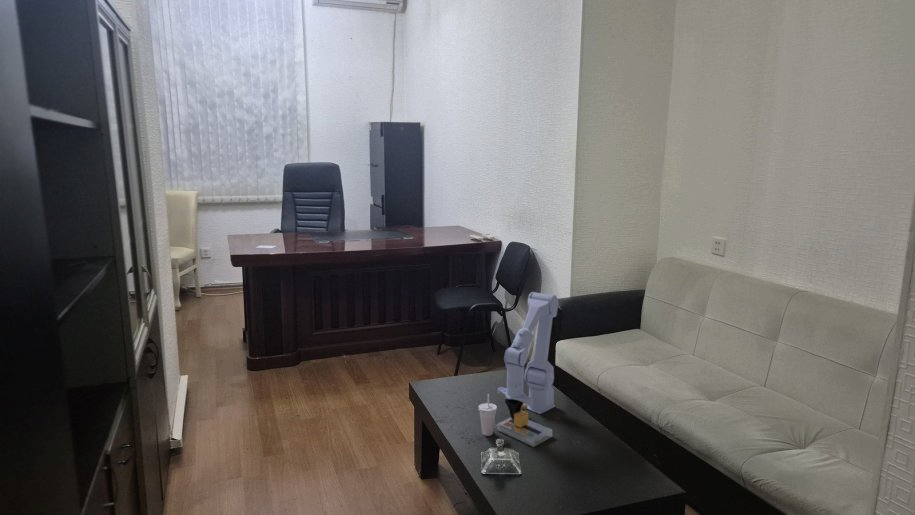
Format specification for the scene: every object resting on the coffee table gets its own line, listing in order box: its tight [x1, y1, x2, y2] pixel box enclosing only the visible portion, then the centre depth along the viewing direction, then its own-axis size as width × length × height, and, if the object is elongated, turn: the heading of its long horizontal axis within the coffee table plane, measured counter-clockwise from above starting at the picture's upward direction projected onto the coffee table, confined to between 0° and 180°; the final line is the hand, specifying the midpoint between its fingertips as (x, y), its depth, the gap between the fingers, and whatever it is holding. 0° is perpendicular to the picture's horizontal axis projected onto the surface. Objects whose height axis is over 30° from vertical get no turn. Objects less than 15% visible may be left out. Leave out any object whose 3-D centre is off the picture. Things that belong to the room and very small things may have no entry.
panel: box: [497, 416, 553, 448], centre depth 204 cm, size 10×16×3 cm, turn 44°
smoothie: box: [478, 393, 498, 437], centre depth 203 cm, size 6×6×14 cm
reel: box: [520, 403, 528, 412], centre depth 216 cm, size 5×5×5 cm
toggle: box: [514, 410, 529, 428], centre depth 204 cm, size 4×3×4 cm
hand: (514, 418), depth 206 cm, fingers closed
